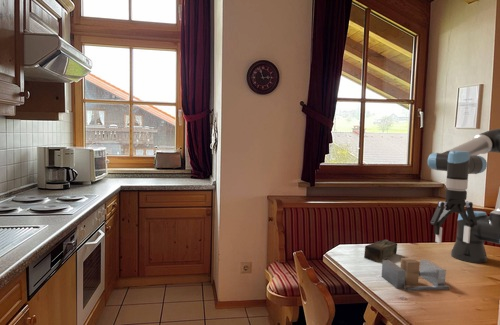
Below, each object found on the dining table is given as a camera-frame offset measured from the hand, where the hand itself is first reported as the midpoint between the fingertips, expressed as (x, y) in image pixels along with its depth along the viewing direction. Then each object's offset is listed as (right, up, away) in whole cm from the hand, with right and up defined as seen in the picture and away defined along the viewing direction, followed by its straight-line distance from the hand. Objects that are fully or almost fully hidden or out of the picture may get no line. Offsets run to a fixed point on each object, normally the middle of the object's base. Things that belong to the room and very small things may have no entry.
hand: (452, 242), depth 152 cm
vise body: (-17, -16, -1) cm, 23 cm away
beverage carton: (-18, -14, +30) cm, 38 cm away
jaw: (-8, -16, 0) cm, 18 cm away
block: (-18, -16, -1) cm, 24 cm away
